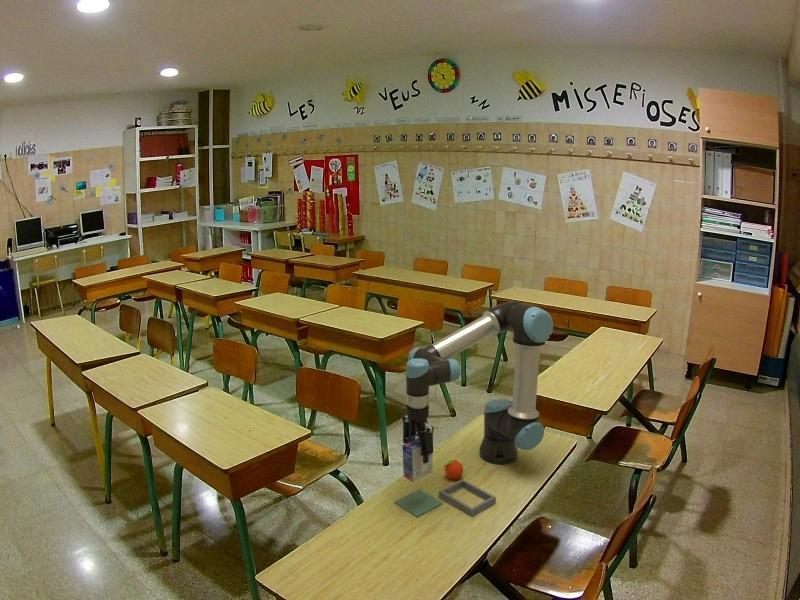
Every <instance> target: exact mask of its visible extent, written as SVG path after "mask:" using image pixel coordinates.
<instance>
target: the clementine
mask: <svg viewBox="0 0 800 600" xmlns="http://www.w3.org/2000/svg"><path fill="white" fill-rule="evenodd" d="M442 470H444V472H445V475H446V476H447V478H449V479H452V480H457V479H459V478H460V477H461V476H463V473H464V466H463V464H462V462H460V461H458V459H450V460H448V461H447V463H445V464H444V466H443V469H442Z"/></svg>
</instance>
